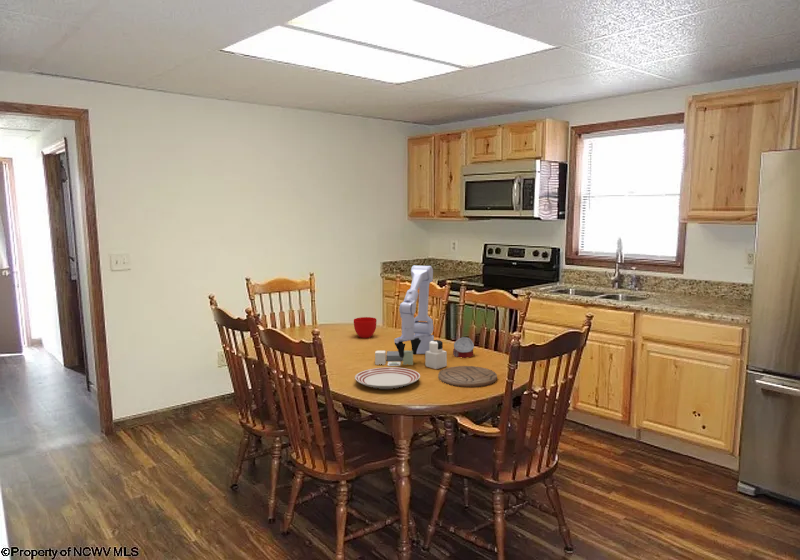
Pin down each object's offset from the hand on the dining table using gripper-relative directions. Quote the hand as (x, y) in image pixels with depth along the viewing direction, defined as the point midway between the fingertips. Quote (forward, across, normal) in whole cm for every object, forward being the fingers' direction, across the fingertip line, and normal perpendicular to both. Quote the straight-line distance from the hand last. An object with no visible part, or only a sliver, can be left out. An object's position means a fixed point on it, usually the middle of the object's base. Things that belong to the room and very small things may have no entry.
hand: (407, 355), depth 259 cm
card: (+4, +6, -3) cm, 8 cm away
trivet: (+4, -5, +34) cm, 34 cm away
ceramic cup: (+4, -17, -58) cm, 61 cm away
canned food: (+4, -30, +7) cm, 31 cm away
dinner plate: (+4, +24, +16) cm, 29 cm away
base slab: (+4, 0, -10) cm, 11 cm away
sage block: (+4, 0, 0) cm, 4 cm away
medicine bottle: (+4, -7, +12) cm, 14 cm away
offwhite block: (+4, +10, -8) cm, 13 cm away
